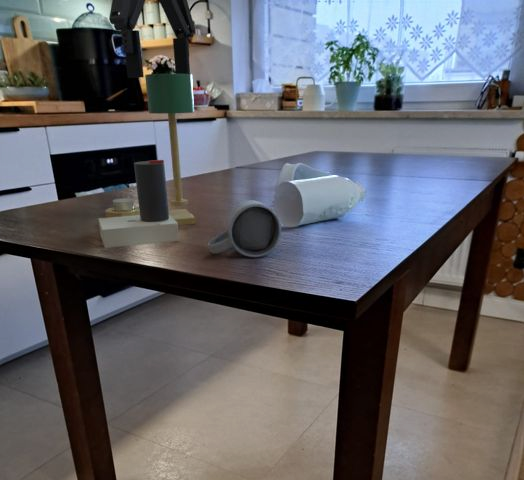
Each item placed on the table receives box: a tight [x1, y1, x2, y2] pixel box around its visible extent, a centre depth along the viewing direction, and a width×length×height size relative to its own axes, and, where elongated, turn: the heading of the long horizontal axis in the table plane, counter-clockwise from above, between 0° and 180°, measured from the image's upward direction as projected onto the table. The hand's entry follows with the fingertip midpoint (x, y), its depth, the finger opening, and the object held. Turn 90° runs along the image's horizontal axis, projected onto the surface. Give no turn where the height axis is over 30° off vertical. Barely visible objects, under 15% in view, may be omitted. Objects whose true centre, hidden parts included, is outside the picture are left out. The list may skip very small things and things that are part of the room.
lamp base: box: [105, 205, 197, 226], centre depth 98 cm, size 16×9×3 cm, turn 110°
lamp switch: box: [112, 198, 134, 212], centre depth 95 cm, size 4×4×2 cm
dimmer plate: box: [97, 215, 181, 249], centre depth 87 cm, size 14×9×3 cm, turn 110°
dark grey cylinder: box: [133, 159, 169, 222], centre depth 85 cm, size 5×5×9 cm
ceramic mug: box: [207, 199, 282, 258], centre depth 78 cm, size 11×8×8 cm
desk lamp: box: [144, 73, 195, 207], centre depth 94 cm, size 8×8×22 cm
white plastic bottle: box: [271, 174, 367, 228], centre depth 97 cm, size 8×19×8 cm, turn 128°
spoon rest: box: [274, 162, 331, 194], centre depth 127 cm, size 24×12×7 cm, turn 160°
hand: (160, 78), depth 90 cm, fingers open, 13 cm apart
